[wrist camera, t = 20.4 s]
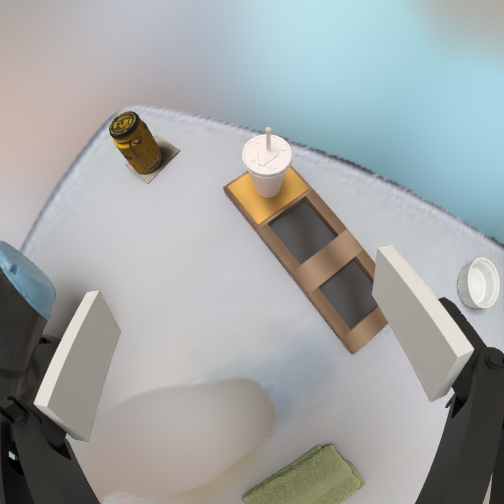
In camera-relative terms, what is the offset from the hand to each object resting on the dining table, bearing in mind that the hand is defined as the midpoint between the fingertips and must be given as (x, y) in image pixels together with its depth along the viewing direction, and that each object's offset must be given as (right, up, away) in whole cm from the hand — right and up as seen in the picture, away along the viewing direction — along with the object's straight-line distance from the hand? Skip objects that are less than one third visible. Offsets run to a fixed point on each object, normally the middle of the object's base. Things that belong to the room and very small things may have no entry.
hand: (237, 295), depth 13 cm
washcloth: (+9, -37, +21) cm, 44 cm away
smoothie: (+3, +12, +31) cm, 34 cm away
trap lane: (+10, +3, +31) cm, 33 cm away
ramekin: (+40, -4, +28) cm, 49 cm away
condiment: (-18, +19, +37) cm, 45 cm away
